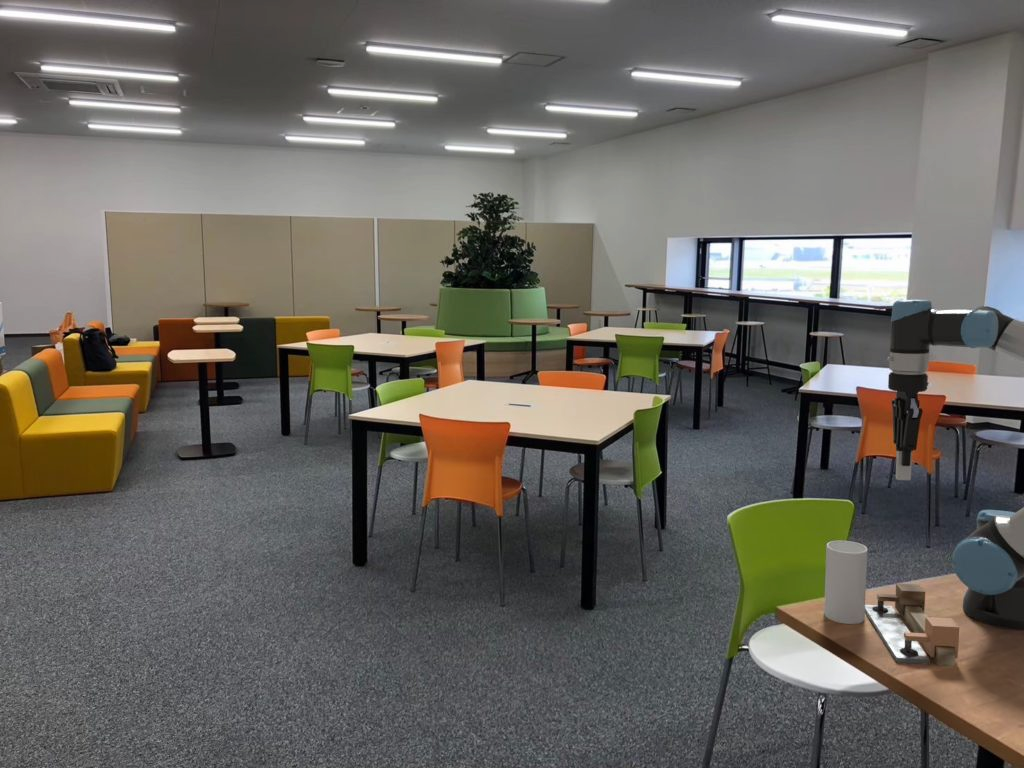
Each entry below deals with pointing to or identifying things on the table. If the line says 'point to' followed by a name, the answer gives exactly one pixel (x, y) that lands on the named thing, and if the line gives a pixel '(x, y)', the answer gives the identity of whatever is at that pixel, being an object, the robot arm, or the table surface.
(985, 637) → the table surface
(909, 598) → the fixed leg
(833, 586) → the cup
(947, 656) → the beam
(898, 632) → the bolt strip
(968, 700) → the table surface
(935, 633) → the block
